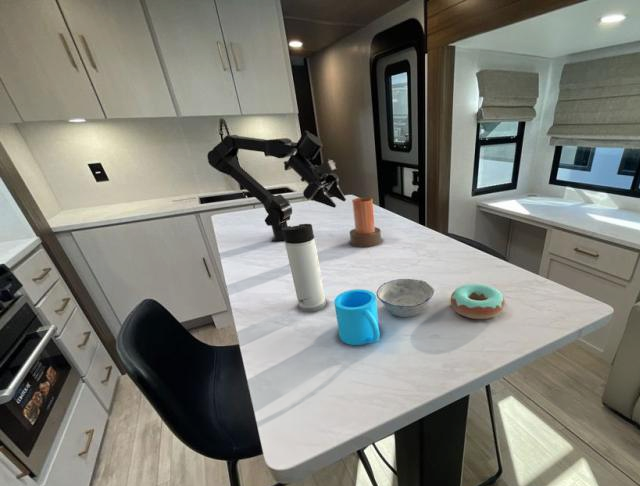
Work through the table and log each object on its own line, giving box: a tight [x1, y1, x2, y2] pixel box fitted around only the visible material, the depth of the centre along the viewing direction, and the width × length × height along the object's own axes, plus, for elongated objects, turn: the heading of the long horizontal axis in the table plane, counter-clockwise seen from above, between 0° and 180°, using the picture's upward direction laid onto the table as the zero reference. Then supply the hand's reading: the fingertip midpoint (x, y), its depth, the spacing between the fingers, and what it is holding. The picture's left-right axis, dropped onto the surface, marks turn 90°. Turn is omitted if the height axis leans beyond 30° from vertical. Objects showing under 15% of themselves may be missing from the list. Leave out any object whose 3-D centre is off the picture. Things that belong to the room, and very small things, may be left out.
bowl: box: [376, 278, 435, 318], centre depth 73 cm, size 13×13×5 cm
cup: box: [351, 197, 376, 234], centre depth 111 cm, size 7×7×11 cm
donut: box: [450, 283, 506, 320], centre depth 72 cm, size 12×12×4 cm
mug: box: [333, 288, 381, 346], centre depth 63 cm, size 12×8×8 cm
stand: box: [349, 226, 382, 248], centre depth 115 cm, size 11×11×4 cm
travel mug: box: [282, 223, 326, 313], centre depth 72 cm, size 6×7×20 cm
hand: (340, 203), depth 111 cm, fingers open, 9 cm apart
